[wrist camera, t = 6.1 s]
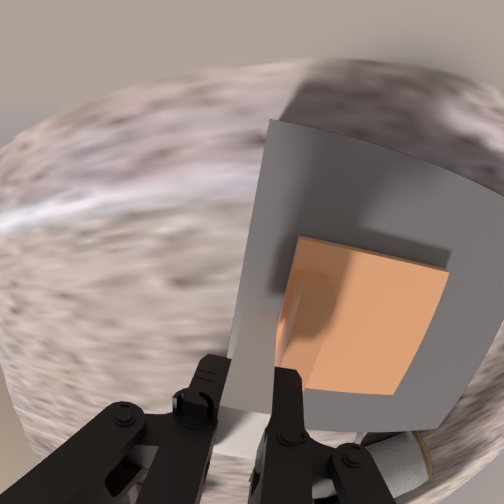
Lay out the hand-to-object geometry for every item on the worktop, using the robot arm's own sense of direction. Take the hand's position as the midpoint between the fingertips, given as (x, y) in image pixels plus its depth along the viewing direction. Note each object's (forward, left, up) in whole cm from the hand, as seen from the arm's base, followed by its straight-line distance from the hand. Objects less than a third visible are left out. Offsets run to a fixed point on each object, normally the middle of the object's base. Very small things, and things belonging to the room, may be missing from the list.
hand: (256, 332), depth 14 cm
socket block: (-9, 0, -7) cm, 11 cm away
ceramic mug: (-16, +16, -7) cm, 24 cm away
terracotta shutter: (-6, 0, -2) cm, 6 cm away
